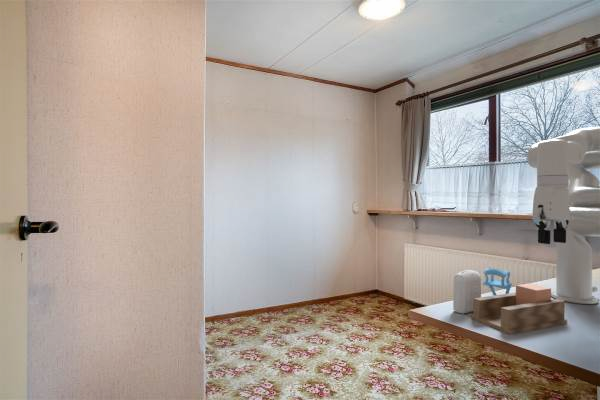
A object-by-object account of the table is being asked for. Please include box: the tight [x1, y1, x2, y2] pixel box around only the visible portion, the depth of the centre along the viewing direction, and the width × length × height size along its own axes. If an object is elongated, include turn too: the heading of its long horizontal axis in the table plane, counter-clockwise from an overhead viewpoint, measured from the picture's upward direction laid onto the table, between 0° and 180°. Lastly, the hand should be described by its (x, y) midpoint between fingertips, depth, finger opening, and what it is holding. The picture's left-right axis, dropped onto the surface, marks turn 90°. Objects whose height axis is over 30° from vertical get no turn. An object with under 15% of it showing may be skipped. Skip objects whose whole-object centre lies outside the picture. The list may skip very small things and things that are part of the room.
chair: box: [482, 267, 513, 296], centre depth 109 cm, size 8×8×12 cm
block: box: [515, 283, 552, 305], centre depth 96 cm, size 6×6×8 cm
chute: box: [470, 292, 568, 335], centre depth 94 cm, size 22×12×6 cm, turn 111°
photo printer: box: [452, 269, 482, 314], centre depth 103 cm, size 10×4×12 cm, turn 123°
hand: (551, 242), depth 99 cm, fingers open, 6 cm apart
